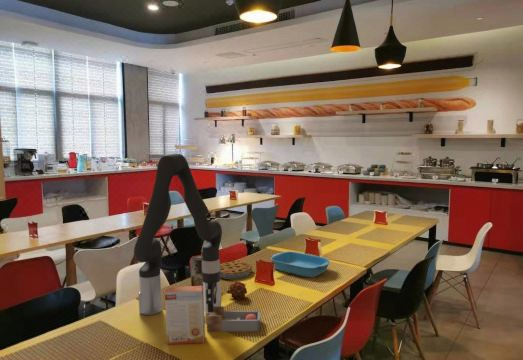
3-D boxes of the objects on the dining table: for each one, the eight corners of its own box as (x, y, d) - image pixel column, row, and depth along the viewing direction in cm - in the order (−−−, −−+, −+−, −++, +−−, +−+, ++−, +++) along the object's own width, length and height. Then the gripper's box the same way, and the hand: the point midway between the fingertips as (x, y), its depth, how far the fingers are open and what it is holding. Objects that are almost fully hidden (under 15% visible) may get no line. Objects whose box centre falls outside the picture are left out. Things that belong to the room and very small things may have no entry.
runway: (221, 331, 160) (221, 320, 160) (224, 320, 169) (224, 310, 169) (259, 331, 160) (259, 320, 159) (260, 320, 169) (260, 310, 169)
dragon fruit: (243, 305, 189) (230, 300, 199) (254, 291, 193) (241, 287, 203) (233, 293, 186) (220, 289, 196) (244, 279, 190) (231, 276, 200)
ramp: (207, 331, 160) (206, 316, 160) (210, 321, 169) (209, 306, 169) (223, 331, 160) (223, 316, 160) (226, 320, 169) (225, 306, 169)
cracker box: (205, 335, 157) (203, 285, 155) (203, 343, 151) (201, 290, 149) (169, 336, 156) (167, 285, 154) (166, 344, 150) (164, 291, 148)
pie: (209, 271, 234) (209, 262, 234) (243, 265, 244) (243, 257, 243) (221, 282, 215) (221, 274, 214) (258, 276, 224) (258, 267, 223)
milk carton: (205, 314, 176) (204, 273, 174) (203, 308, 182) (202, 268, 180) (221, 312, 177) (220, 271, 175) (219, 306, 184) (217, 266, 182)
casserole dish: (263, 269, 237) (263, 257, 236) (285, 259, 254) (285, 249, 253) (316, 282, 213) (316, 269, 213) (336, 271, 231) (336, 259, 230)
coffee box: (211, 285, 211) (210, 256, 209) (208, 290, 204) (207, 259, 203) (194, 285, 212) (193, 255, 210) (190, 289, 205) (189, 259, 203)
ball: (242, 322, 162) (249, 331, 162) (251, 314, 161) (259, 323, 162) (242, 316, 167) (250, 325, 167) (252, 309, 166) (259, 318, 167)
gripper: (218, 275, 155) (219, 315, 157) (222, 264, 169) (223, 300, 171) (199, 275, 155) (200, 315, 157) (204, 264, 169) (205, 300, 171)
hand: (212, 307), depth 164 cm, fingers open, 8 cm apart
